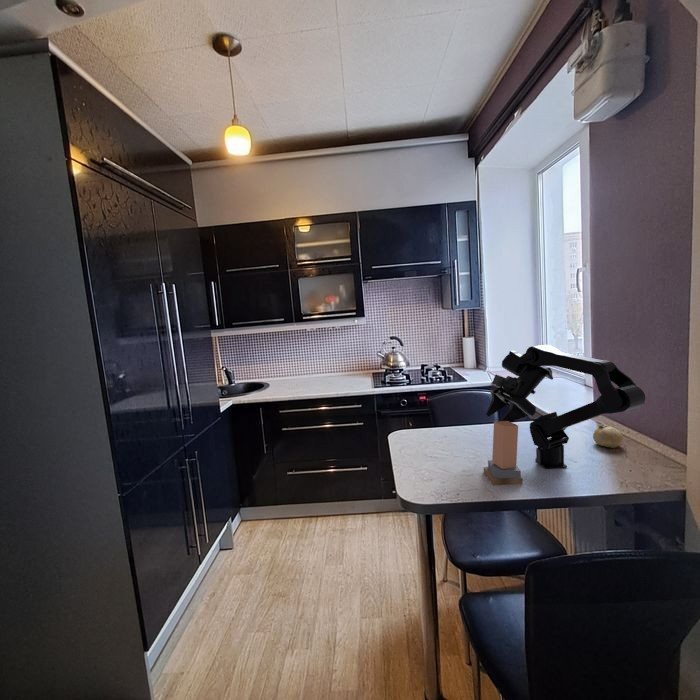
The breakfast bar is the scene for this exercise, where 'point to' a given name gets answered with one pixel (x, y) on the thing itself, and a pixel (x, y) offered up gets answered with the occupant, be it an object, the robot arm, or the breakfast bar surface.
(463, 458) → the breakfast bar surface
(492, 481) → the tower base
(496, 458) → the pillar
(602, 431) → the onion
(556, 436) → the robot arm
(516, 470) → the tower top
